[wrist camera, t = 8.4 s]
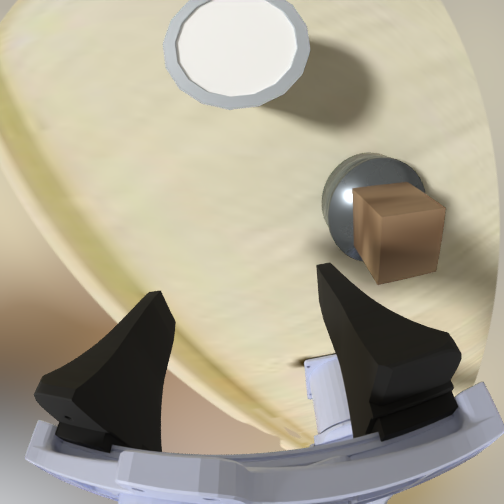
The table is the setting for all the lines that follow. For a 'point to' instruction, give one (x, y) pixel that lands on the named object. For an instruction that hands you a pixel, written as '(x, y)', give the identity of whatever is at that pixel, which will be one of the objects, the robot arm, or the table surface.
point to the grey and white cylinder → (236, 51)
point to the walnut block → (397, 230)
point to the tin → (353, 176)
